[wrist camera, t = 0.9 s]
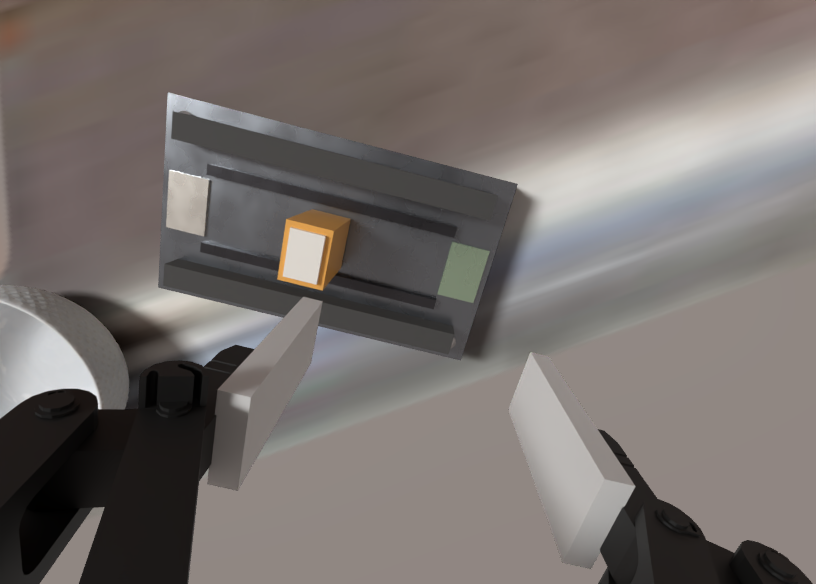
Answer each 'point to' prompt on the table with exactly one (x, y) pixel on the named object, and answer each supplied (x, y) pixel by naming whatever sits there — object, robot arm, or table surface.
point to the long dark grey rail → (332, 165)
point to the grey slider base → (299, 192)
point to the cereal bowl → (56, 350)
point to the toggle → (313, 248)
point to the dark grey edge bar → (332, 309)
